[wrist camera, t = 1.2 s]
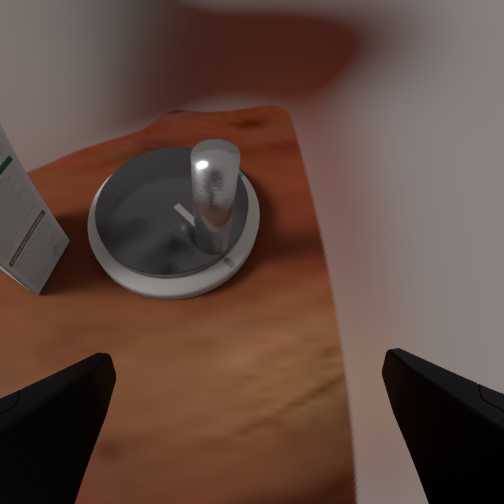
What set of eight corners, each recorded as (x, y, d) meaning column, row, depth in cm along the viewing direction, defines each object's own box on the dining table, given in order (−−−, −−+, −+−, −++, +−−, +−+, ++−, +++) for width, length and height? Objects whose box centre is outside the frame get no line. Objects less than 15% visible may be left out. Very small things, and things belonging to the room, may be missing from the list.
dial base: (252, 310, 22) (255, 302, 20) (73, 286, 21) (65, 278, 19) (260, 167, 29) (262, 155, 27) (120, 156, 27) (117, 144, 26)
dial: (159, 313, 19) (126, 244, 11) (74, 207, 22) (36, 125, 14) (278, 211, 24) (306, 122, 16) (182, 137, 27) (180, 54, 19)
